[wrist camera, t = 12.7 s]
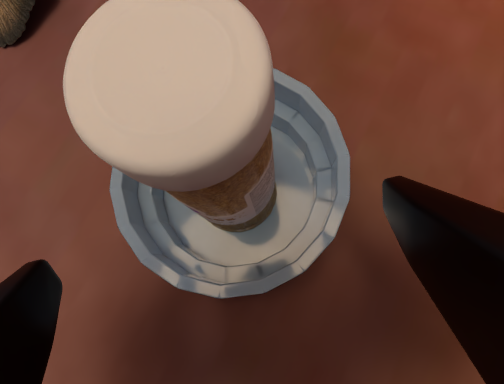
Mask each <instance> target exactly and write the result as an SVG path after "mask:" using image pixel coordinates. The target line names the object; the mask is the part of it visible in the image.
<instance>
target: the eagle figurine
mask: <svg viewBox="0 0 504 384" xmlns="http://www.w3.org/2000/svg"><path fill="white" fill-rule="evenodd" d="M34 5H35V0H0V46H1V47H3V48H4V47H5V45H6V44H8V45H12V44H13V43H14V42H16V41H17V38H19V37H21V35H22V32H23V31H25V29H26V27H25V23H26V22H27V20H28V19H29V16H30V15H29V11H31V10H32V6H34Z"/></svg>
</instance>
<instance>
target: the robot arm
mask: <svg viewBox="0 0 504 384" xmlns="http://www.w3.org/2000/svg"><path fill="white" fill-rule="evenodd" d="M383 209H384V212H385V215H386V217H387V219H388V221H389V223H390V225H391V228H392V230H393V232H394V234H395V236H396V238H397V240H398V242H399V244H400V246H401V248H402V251H403V253H404V255H405V257H406V259H407V261H408V262H409V264H410V266H411V267H412V269H413V271H414V272H415V274H416V275H417V277H418V278H419V280H420V282H421V283H422V285H423V286H424V288H425V289H426V291H427V293H428V294H429V296H430V297H431V299H432V300H433V302H434V303H435V305H436V307H437V308H438V310H439V311H440V313H441V314H442V316H443V318H444V319H445V321H446V322H447V324H448V325H449V327H450V328H451V330H452V332H453V333H454V335H455V336H456V338H457V339H458V341H459V343H460V344H461V346H462V347H463V349H464V350H465V352H466V353H467V355H468V357H469V358H470V360H471V361H472V363H473V364H474V366H475V368H476V369H477V371H478V372H479V374H480V375H481V377H482V378H483V380H484V382H485V383H486V384H504V213H502V212H500V211H497V210H494V209H491V208H489V207H486V206H483V205H480V204H477V203H475V202H472V201H469V200H466V199H463V198H461V197H458V196H455V195H452V194H450V193H447V192H444V191H441V190H438V189H436V188H433V187H430V186H427V185H425V184H422V183H419V182H416V181H413V180H411V179H408V178H405V177H402V176H395V177H391V178H387V179H385V180H384V181H383ZM61 295H62V282H61V280H60V278H59V277H58V276H57V274H56V273H55V271H54V270H53V269H52V267H51V266H50V265H49V263H48V262H47V261H45V260H37V261H32V262H28V263H26V264H25V265H24V266H22V267H21V268H20V269H18V270H17V271H16V272H14V273H13V274H12V275H11V276H9V277H8V278H7V279H5V280H4V281H3V282H1V283H0V384H42V381H43V377H44V374H45V370H46V367H47V363H48V360H49V356H50V353H51V349H52V345H53V340H54V335H55V330H56V324H57V318H58V312H59V306H60V301H61Z"/></svg>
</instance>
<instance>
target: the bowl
mask: <svg viewBox="0 0 504 384" xmlns="http://www.w3.org/2000/svg"><path fill="white" fill-rule="evenodd" d="M273 76H274V92H275V110H274V116H273V120H272V124H271V127H270V128H271V133H272V141H273V157H274V172H275V183H276V189H277V196H276V201H275V205H274V207H273V209H272V212H271V214H270V215H269V216H268V217H267V218H266V219H265V220H264V221H263V222H262V223H261V224H260V225H258V226H256V227H255V228H253V229H250V230H247V231H244V232H229V231H225V230H221V229H219V228H217V227H215V226H214V225H212V224H211V223H210V222H209V221H207V220H206V219H205V218H203V217H202V216H200V215H199V214H197V213H196V212H194V211H193V210H191V209H190V208H188V207H187V206H185V205H184V204H182V203H181V202H179V201H178V200H176V199H175V198H174V197H172V196H171V195H170V194H169V193H168V192H166V191H165V190H160V189H156V188H153V187H150V186H147V185H145V184H142V183H140V182H138V181H136V180H134V179H132V178H131V177H129V176H127V175H125V174H124V173H122V172H120V171H119V170H117V169H116V168H114V167H112V174H111V182H110V194H111V198H112V203H113V207H114V212H115V216H116V221H117V225H118V228H119V230H120V232H121V233H122V235H123V236H124V238H125V239H126V241H127V242H128V244H129V246H130V247H131V249H132V250H133V252H134V253H135V255H136V256H137V258H138V259H139V261H140V262H141V263H142V264H143V265H144V266H146V267H147V268H149V269H150V270H151V271H153V272H154V273H156V274H157V275H158V276H160V277H161V278H163V279H164V280H166V281H167V282H168V283H170V284H171V285H173V286H174V287H176V288H178V289H182V290H186V291H190V292H194V293H198V294H202V295H206V296H210V297H214V298H220V299H223V298H231V297H239V296H247V295H255V294H263V293H266V292H268V291H270V290H272V289H274V288H276V287H277V286H279V285H281V284H283V283H285V282H287V281H289V280H291V279H293V278H295V277H296V276H298V275H300V274H302V273H304V271H306V270H307V269H308V268H309V267H310V266H311V264H312V263H313V262H314V261H315V260H316V259H317V258H318V257H319V255H320V254H321V253H322V252H323V251H324V250H325V249H326V248H327V246H328V245H329V244H330V243H331V242H332V241H333V240H334V238H335V236H336V234H337V231H338V228H339V226H340V223H341V220H342V218H343V215H344V213H345V210H346V207H347V205H348V202H349V199H350V155H349V151H348V148H347V146H346V143H345V141H344V138H343V135H342V133H341V130H340V128H339V125H338V123H337V120H336V118H335V116H334V115H333V114H332V113H331V111H330V110H329V109H328V108H327V107H326V106H325V105H324V104H323V102H322V101H321V100H320V99H319V98H318V97H317V96H316V95H315V93H314V92H313V91H312V90H311V89H310V88H309V87H308V86H306V85H304V84H303V83H301V82H299V81H297V80H295V79H293V78H291V77H290V76H288V75H286V74H284V73H282V72H280V71H278V70H277V69H275V68H274V69H273Z"/></svg>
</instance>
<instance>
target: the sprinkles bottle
mask: <svg viewBox="0 0 504 384" xmlns="http://www.w3.org/2000/svg"><path fill="white" fill-rule="evenodd" d="M63 92H64V99H65V105H66V109H67V112H68V115H69V117H70V120H71V122H72V125H73V127H74V128H75V130H76V132H77V133H78V135H79V137H80V138H81V139H82V141H83V142H84V143H85V144H86V145H87V146H88V147H89V148H90V150H91V151H92V152H93V153H95V154H96V155H97V156H98V157H100V158H101V159H102V160H104V161H105V162H107V163H108V164H110V165H111V166H113V167H114V168H116V169H117V170H119V171H120V172H122V173H124V174H125V175H127V176H129V177H131V178H132V179H134V180H136V181H138V182H140V183H142V184H145V185H147V186H150V187H153V188H156V189H160V190H165V191H166V192H168V193H169V194H170V195H171V196H172V197H174V198H175V199H176V200H178V201H179V202H181V203H182V204H184V205H185V206H187V207H188V208H190V209H191V210H193V211H194V212H196V213H197V214H199V215H200V216H202V217H203V218H205V219H206V220H207V221H209V222H210V223H211V224H212V225H214V226H215V227H217V228H219V229H221V230H225V231H229V232H244V231H247V230H250V229H253V228H255V227H256V226H258V225H260V224H261V223H262V222H263V221H264V220H265V219H266V218H267V217H268V216H269V215H270V214H271V212H272V209H273V207H274V205H275V201H276V196H277V189H276V183H275V172H274V157H273V141H272V133H271V128H270V127H271V124H272V120H273V116H274V110H275V92H274V76H273V65H272V57H271V52H270V49H269V45H268V42H267V39H266V37H265V34H264V32H263V30H262V28H261V26H260V25H259V23H258V21H257V20H256V18H255V17H254V16H253V15H252V14H251V12H250V11H249V10H248V9H247V8H246V7H245V6H244V5H243V4H242V3H241V2H239V1H238V0H109V1H107V2H106V3H105V4H103V5H102V6H101V7H100V8H99V9H98V10H97V11H96V12H95V13H94V14H93V15H92V16H91V17H90V18H89V19H88V20H87V21H86V23H85V24H84V25H83V27H82V28H81V30H80V31H79V33H78V34H77V36H76V38H75V40H74V42H73V44H72V46H71V48H70V51H69V54H68V57H67V60H66V64H65V70H64V77H63Z"/></svg>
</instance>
